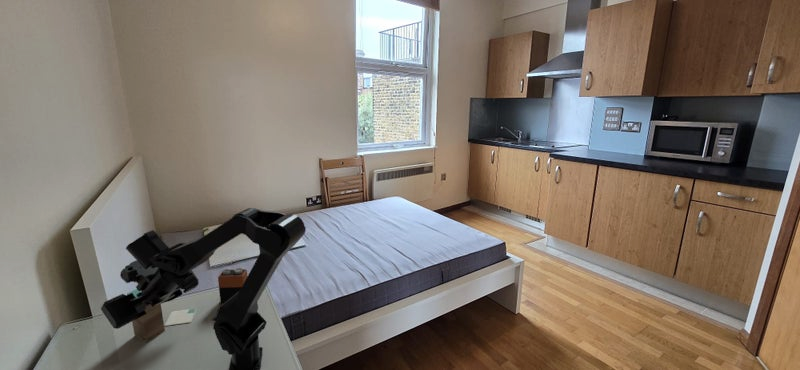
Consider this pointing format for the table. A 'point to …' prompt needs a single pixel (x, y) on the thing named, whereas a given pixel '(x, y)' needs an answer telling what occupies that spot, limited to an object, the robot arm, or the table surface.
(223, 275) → the battery
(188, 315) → the pad
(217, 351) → the table surface
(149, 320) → the block
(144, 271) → the robot arm
